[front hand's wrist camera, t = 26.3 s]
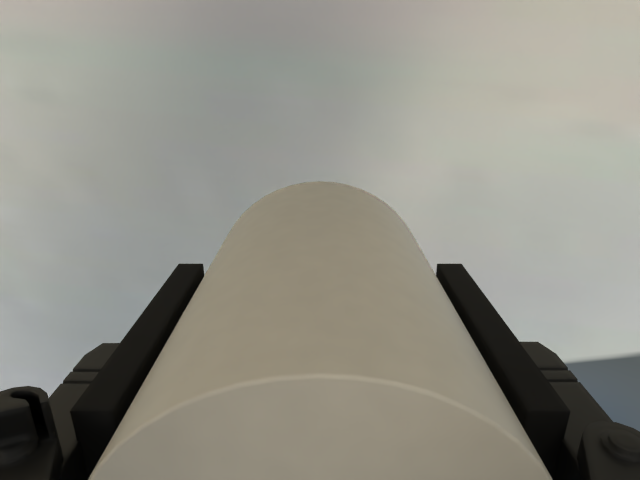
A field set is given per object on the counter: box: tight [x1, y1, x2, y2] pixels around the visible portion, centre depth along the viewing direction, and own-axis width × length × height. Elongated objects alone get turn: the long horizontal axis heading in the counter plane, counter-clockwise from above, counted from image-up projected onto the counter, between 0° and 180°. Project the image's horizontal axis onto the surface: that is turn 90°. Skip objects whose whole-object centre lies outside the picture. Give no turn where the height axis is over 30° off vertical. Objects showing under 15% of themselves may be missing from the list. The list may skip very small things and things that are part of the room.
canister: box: [88, 181, 553, 480], centre depth 11 cm, size 7×7×10 cm
